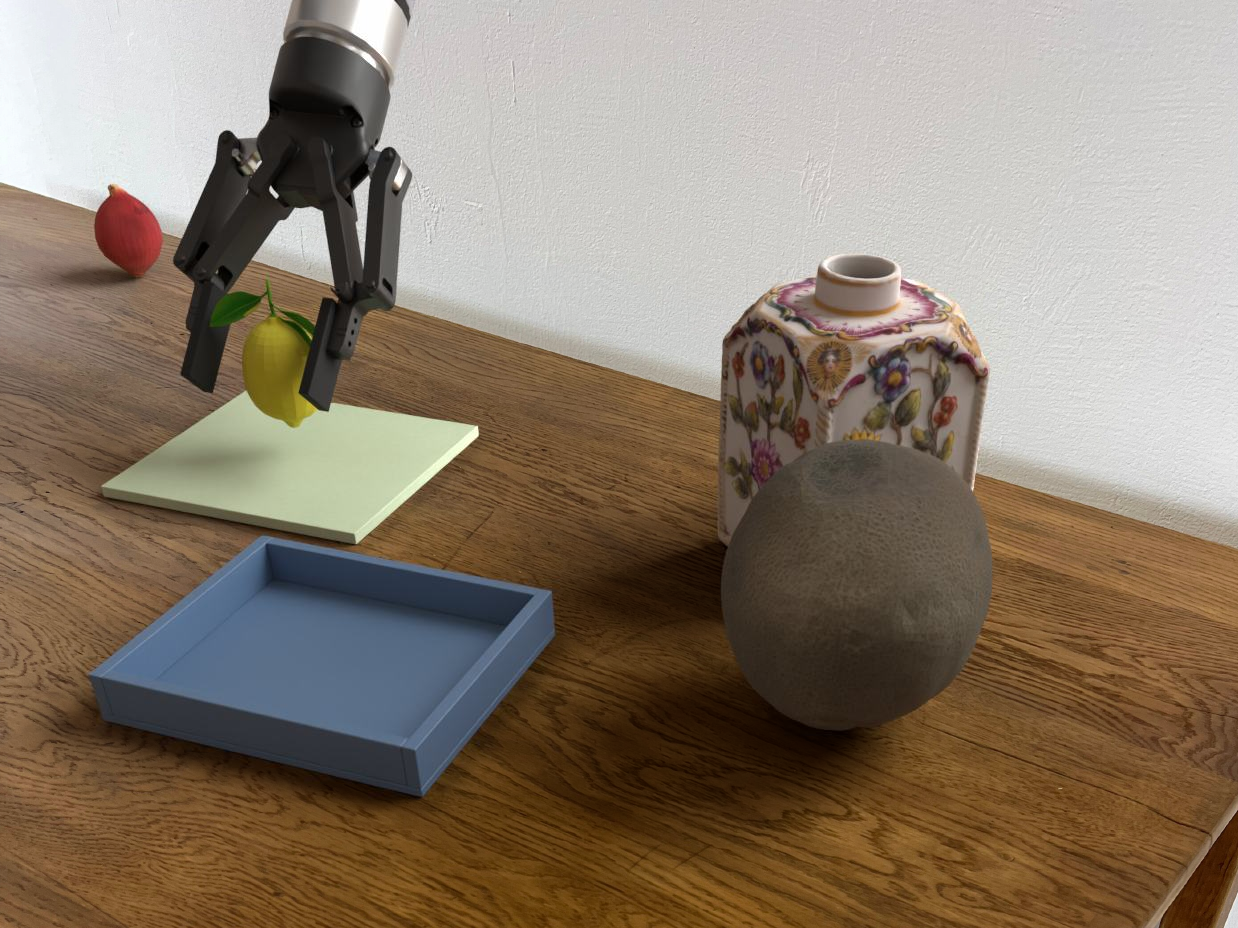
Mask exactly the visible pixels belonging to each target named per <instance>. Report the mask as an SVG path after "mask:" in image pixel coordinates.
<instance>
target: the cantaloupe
mask: <svg viewBox="0 0 1238 928" xmlns="http://www.w3.org/2000/svg"><path fill="white" fill-rule="evenodd" d="M993 574H994V573H993V556H992V547H991V542H990V537H989V533H988V526H987V521H986V518H985V514H984V512H983V509H982V506H981V504H980V502H979V500H978V498H977V496H976V495H975V493H974V490H973V491H972V490H971V488H970V487H969V486H968V485H967V483H966V482H965V481H964V480H963V479H962V477H961V476H960V475H959V474H958V473H957V472H956V471H954V470H953V469H952V468H951V467H950V466H949V465H947V464H946V463H945V462H943V461H941V460H940V459H938V458H936V457H934V456H932V455H930V454H927V453H924V452H921V451H918V450H916V449H912V448H909V447H906V446H900V445H895V444H891V443H887V442H883V441H877V440H871V439H860V440H842V441H835V442H830V443H827V444H824V445H822V446H819V447H817V448H814V449H812V450H810V451H807V452H805V453H804V454H802V455H800V456H799V457H798V458H796V459H795V460H794V461H792V462H790V463H788V464H786V465H784V466H783V467H781V468H780V469H779V470H778V471H777V472H776V473H775V474H774V475H773V476H772V477H771V478H770V479H769V480H768V481H767V482H766V483H765V484H764V485H763V486H762V487H761V488H760V490H759V491H758V492H757V493H756V495H755V496H754V497H753V499H752V500H751V502H750V503H749V505H748V507H747V510H746V512H745V514H744V516H743V517H742V519H741V521H740V522H739V524H738V526H737V527H736V529H735V531H734V533H733V535H732V537H731V540H730V543H729V546H727V549H726V552H725V556H724V560H723V565H722V571H721V580H720V581H721V582H720V599H721V610H722V617H723V622H724V628H725V632H726V635H727V636H726V637H727V639H728V643H729V645H730V648H731V651H732V653H733V657H734V659H735V661H736V663H737V665H738V667H739V669H740V671H741V673H742V675H743V676H744V678H745V680H746V681H747V682H748V684H749V685H750V686H751V687H752V689H754V691H755V692H757V694H758V695H759V696H760V697H762V698H763V699H764V700H765V701H766V702H768V704H770V705H771V706H772V707H773V708H774V709H776V711H778V712H779V713H781V714H782V715H784V716H785V717H787V718H789V719H791V720H792V721H793V720H794V721H796V722H798V723H800V724H803V725H805V726H806V727H810V728H814V729H817V730H825V731H838V732H841V731H847V730H852V729H854V728H863V729H864V728H865V729H867V728H868V729H869V728H874V727H878V726H881V725H884V724H888V723H890V722H893V721H895V720H898V719H901V718H902V717H904V716H907V715H908V714H911V713H913V712H915V711H916V710H918V709H919V708H920V707H922V706H924V705H925V704H926V703H928V702H929V701H930V700H932V699H933V698H935V697H937V696H938V695H939V694H941V693H942V692H943V691H944V690H945V689H947V688H948V687H949V686H950V685H951V684H952V683H953V681H955V679H956V678H957V677H958V675H959V674H960V673H961V672H962V670H963V669H964V667H965V666H966V664H967V662H968V661H969V660H970V657H971V655H972V652H973V651H974V648H975V646H976V644H977V642H978V639H979V637H980V633H981V631H982V628H983V626H984V625H985V622H986V618H987V615H988V612H989V607H990V603H991V598H992V592H993V577H994V576H993Z"/></svg>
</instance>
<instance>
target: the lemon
mask: <svg viewBox="0 0 1238 928" xmlns="http://www.w3.org/2000/svg"><path fill="white" fill-rule="evenodd" d="M270 282H271V281H270V279H269V278H267V279H266V280H265V287H266V291H265V292H264V293H263V294H260V295H258V294H254V293H251V292H247V291H244V290H243V291H241V290H239V291H238V290H237V291H233V292H230V293H229V292H228V293H227V295H225V296H224V297H223V298H222V299H221V300H220V301H219V302H218V303H217V305H216V307H215V309H214V311H213V313H212V316H211V321H210V327H213V326H225V325H229V324H230V325H231V324H233V323H236V322H238V321H241V320H243V319H244V318H246V317H248V316H249V315H251V314H253V313H254V312H255V311H256V310H258V309H259V307H260V305H261V302H262V300H263V298H264V297H266V296H267V299H268V301H267V302H268V306H269V309H270V314H269V315H268V316H266V318H265V319H263V320H261V321H259V322H258V323H257V324H256V325H254V326H253V327H252V328H251V330H250V331H249V333H248V334H247V336H246V339H245V340H244V343H243V346H242V347H243V348H242V353H241V365H242V366H241V368H242V378H243V381H244V382H243V383H244V387H245V389H246V390H247V393H248V395H249V397H250V398H251V400H252V402H253V403H254V405H255V406H256V407H257V408H258V409H259V410H260V411H261V412H263V413H264V414H266V415H268V416H270V417H272V418H275V419H278V420H282V421H284V422H285V423H286V424H287V425H288V426H290V427H293V428H296V427H299V426H300V424H301V423H302V421H303V419H304V418H307V417H309V416H311V415H312V414H313V413H315V412H316V411H317V410H318V409H317V408H315V407H314V406H313V405H312V404H311V403H310V402H308V401H307V400H306V399H305V398H304V397H302V396H301V395H300V394H299V393H298V392H299V388H300V384H301V380H302V376H303V373H304V369H305V365H306V361H307V357H308V353H309V349H310V345H311V341H312V337H313V333H314V329H315V324H313V323H312V322H311V321H310V320H309V319H308V318H306V317H305V316H304V315H301V314H299V313H296V312H293V311H287V310H282V309H280V308H279V307H278V306H276V305H275V303H274V302H273V298H272V291H271V283H270ZM275 309H276V310H277V311H278V312H280V313H282V314H283V315H284V316H285V317H287V318H285V317H282V316H281V315H280V314H278V313H276V312H275ZM246 390H245V391H246Z"/></svg>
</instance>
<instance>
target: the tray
mask: <svg viewBox="0 0 1238 928" xmlns="http://www.w3.org/2000/svg"><path fill="white" fill-rule="evenodd" d="M553 601H554V600H553V591H552V590H548V589H544V588H539V587H533V586H529V585H525V584H517V583H512V582H507V581H502V580H497V579H492V578H486V577H483V576H482V577H481V576H476V575H471V574H465V573H460V572H455V571H449V570H446V569H439V568H436V567H435V568H434V567H429V566H425V565H419V564H414V563H409V562H404V561H403V562H402V561H399V560H392V559H387V558H382V557H377V556H372V555H366V554H362V553H357V552H350V551H347V550H346V551H345V550H341V549H335V548H332V547H331V548H330V547H325V546H321V545H315V544H309V543H304V542H299V541H294V540H289V539H283V538H278V537H273V536H269V535H264V534H263V535H260V536H259V537H257V539H255V540H254V541H253V542H251V543H250V544H248V546H247V547H245V548H244V549H242V551H240V552H239V553H238V554H236V555H235V556H234V557H233V558H231V559H230V560H229V561H228V562H226V563H225V564H223V566H221V568H219V569H217V571H216V572H214V573H213V574H211V575H210V576H209V577H208V578H207V579H206V580H204V581H203V582H202V583H201V584H199V585H198V586H197V587H195V588H194V589H193V590H192V591H191V592H189V593H188V594H187V595H185V596H184V597H183V598H182V599H180V600H179V601H177V603H176V604H174V605H173V606H172V607H170V608H169V609H168V610H167V611H166V612H164V613H163V614H162V615H161V616H159V617H158V618H157V619H156V620H154V621H153V622H152V623H151V624H149V625H148V626H147V627H146V628H144V629H143V630H142V631H140V632H139V633H138V634H137V635H135V636H134V637H133V638H132V639H130V640H129V641H128V642H127V643H125V644H124V645H123V646H122V647H121V648H119V649H118V650H117V651H115V652H114V653H113V654H112V655H110V656H109V657H108V658H107V659H106V660H104V661H103V662H102V663H100V664H99V665H98V666H96V668H94V669H93V670H92V671H90V672H89V673H88V678H89V681H90V684H91V687H92V690H93V692H94V696H95V698H96V701H97V704H98V707H99V710H100V713H101V716H102V719H103V721H104V722H109V723H112V724H117V725H120V726H125V727H129V728H134V729H137V730H141V731H146V732H149V733H154V734H158V735H161V736H162V735H163V736H166V737H171V738H175V739H179V740H183V741H187V742H192V743H195V744H200V745H204V746H208V747H212V748H215V749H220V750H225V751H229V752H233V753H236V754H241V755H245V756H249V757H254V758H258V759H262V760H266V761H269V762H274V763H278V764H282V765H285V766H286V765H287V766H291V767H296V768H298V769H303V770H307V771H311V772H315V773H320V774H324V775H329V776H332V777H337V778H341V779H344V780H348V781H353V782H357V783H362V784H365V785H369V786H374V787H377V788H382V789H386V790H391V791H395V792H399V793H401V794H402V793H403V794H407V795H411V796H414V797H419V798H424V796H425V795H426V794H427V792H428V791H429V790H430V789H431V787H432V786H433V785H434V784H435V783H436V782H437V780H438V779H439V778H440V776H441V775H443V773H444V772H445V770H446V769H447V768H448V767H449V765H450V764H451V763H452V762H453V761H454V760H455V758H456V757H457V756H458V755H459V753H460V752H461V751H462V750H463V748H464V747H465V746H466V745H467V743H469V742H470V740H471V739H472V738H473V736H474V735H475V734H476V733H477V732H478V730H480V728H481V726H483V724H484V723H485V722H486V720H487V719H488V718H489V717H490V716H491V715H492V713H493V712H494V711H495V709H496V708H497V707H498V706H499V705H500V703H501V702H502V701H503V700H504V698H505V697H506V696H507V695H508V694H509V692H510V691H511V690H512V689H513V688H514V687H515V685H516V684H517V683H518V682H519V680H520V679H521V678H522V676H523V675H525V673H526V672H527V670H528V669H529V668H530V667H531V666H532V665H533V663H534V662H535V661H536V659H537V658H538V657H539V656H540V655H541V653H542V652H543V651H544V650H545V648H546V647H547V646H548V645H549V644H550V642H551V641H552V640H553V639H554V638H555V636H556V630H555V616H554V615H555V614H554V602H553Z"/></svg>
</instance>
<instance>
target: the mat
mask: <svg viewBox="0 0 1238 928" xmlns="http://www.w3.org/2000/svg"><path fill="white" fill-rule="evenodd" d="M479 436H480V432H479V425H476V424H475V425H474V424H468V423H462V422H455V421H451V420H450V421H449V420H442V419H436V418H431V417H430V418H429V417H424V416H418V415H411V414H406V413H405V414H404V413H401V412H400V413H398V412H394V411H388V410H387V411H385V410H380V409H374V408H368V407H361V406H355V405H348V404H343V403H337V402H331V405H330V409H329V412H326V411H319V410H317V411H316V412H315V413H313V414H312V415H311V416H309V417H307V418H304V419H303V421H302V423H301V424H300V426H299V427H296V428H293V427H290V426H288V425H287V424H286V423H285V422H284V421H282V420H278V419H275V418H272V417H270V416H268V415H266V414H264V413H263V412H261V411H260V410H259V409H258V408H257V407H256V406H255V405H254V403H253V402H252V400H251V398H250V397H249V395H248V393H247V390H244V391H243V392H241V393H240V394H238V395H237V396H235V397H234V398H232V399H230V400H229V401H227V402H226V403H224V404H223V405H222V406H220V407H218V408H217V409H216V410H214V411H213V412H211V413H209V414H208V415H206V416H205V417H204V418H202V419H201V420H199V421H197V422H196V423H194V424H193V425H191V426H190V427H188V428H187V429H185V430H184V431H182V432H181V433H179V434H178V435H176V436H175V437H173V438H171V439H170V440H168V441H167V442H165V443H164V444H162V445H161V446H159V447H158V448H156V449H155V450H153V451H152V452H150V453H149V454H147V455H146V456H144V457H142V458H141V459H140V460H138V461H137V462H135V463H133V464H132V465H131V466H130V467H128V468H126V469H124V470H123V471H122V472H120V473H119V474H117V475H116V476H114V477H113V478H111V479H109V480H108V481H107V482H105V483H104V484H102V485H101V486H100V488H101V492H102V495H103V497H104V498H108V499H109V498H110V499H116V500H119V501H124V502H131V503H135V504H142V505H146V506H151V507H157V508H162V509H166V510H167V509H168V510H172V511H177V512H183V513H188V514H193V515H198V516H204V517H209V518H214V519H220V520H225V521H231V522H236V523H241V524H247V525H251V526H257V527H262V528H267V529H271V530H272V529H273V530H278V531H283V532H288V533H293V534H299V535H303V536H304V535H305V536H309V537H315V538H320V539H324V540H330V541H335V542H339V543H346V544H351V545H358V544H359V543H360V542H361V541H362V540H363V539H364V538H366V537H367V536H368V535H369V534H370V533H371V532H373V530H375V529H376V528H377V527H378V526H379V525H381V523H383V522H384V521H385V520H386V519H387V518H388V517H389V516H391V515H392V514H393V513H394V512H395V511H396V510H397V509H398V508H399V507H401V506H402V505H403V504H404V503H405V502H407V501H408V500H409V498H411V497H412V496H413V495H415V493H416V492H417V491H419V490H420V489H421V488H422V487H423V486H424V485H425V484H426V483H427V482H429V481H430V480H431V479H432V478H434V476H436V475H437V474H438V473H439V472H440V471H441V470H442V469H443V468H445V467H446V466H447V465H448V464H450V462H451V461H453V459H454V458H456V457H457V456H458V455H459V454H460V453H462V452H463V450H465V449H466V448H467V447H468V446H469V445H470V444H472V443H473V442H474V441H475V440H476V439H478V437H479Z"/></svg>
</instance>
